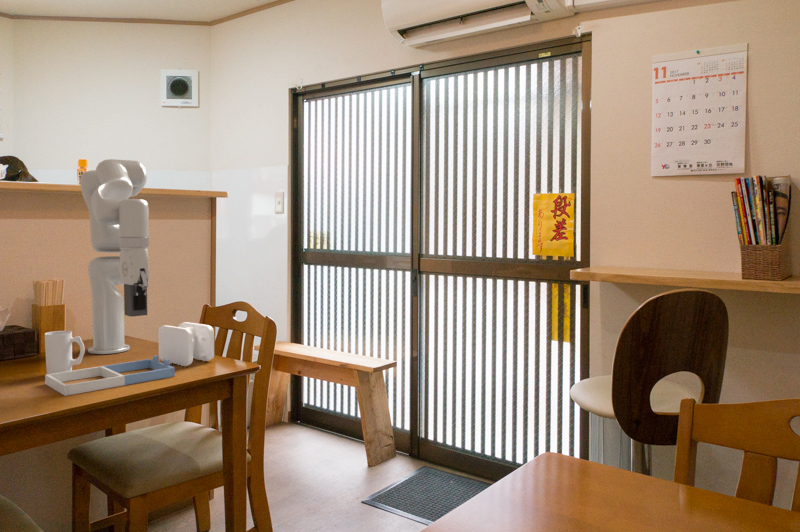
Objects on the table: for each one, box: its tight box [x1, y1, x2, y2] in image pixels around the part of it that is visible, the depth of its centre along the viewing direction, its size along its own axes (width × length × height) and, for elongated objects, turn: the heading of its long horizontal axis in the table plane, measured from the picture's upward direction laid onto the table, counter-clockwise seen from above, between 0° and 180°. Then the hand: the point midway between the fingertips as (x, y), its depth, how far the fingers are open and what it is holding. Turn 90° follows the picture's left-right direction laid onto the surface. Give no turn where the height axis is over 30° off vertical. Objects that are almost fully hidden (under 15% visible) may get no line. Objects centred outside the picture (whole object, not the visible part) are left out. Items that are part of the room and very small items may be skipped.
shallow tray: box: [44, 354, 176, 397], centre depth 168 cm, size 16×28×4 cm, turn 136°
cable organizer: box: [157, 321, 215, 367], centre depth 190 cm, size 15×11×12 cm
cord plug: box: [123, 282, 148, 318], centre depth 171 cm, size 4×4×12 cm
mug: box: [44, 330, 86, 375], centre depth 173 cm, size 10×7×12 cm, turn 100°
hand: (135, 308), depth 171 cm, fingers closed on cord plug, 4 cm apart
